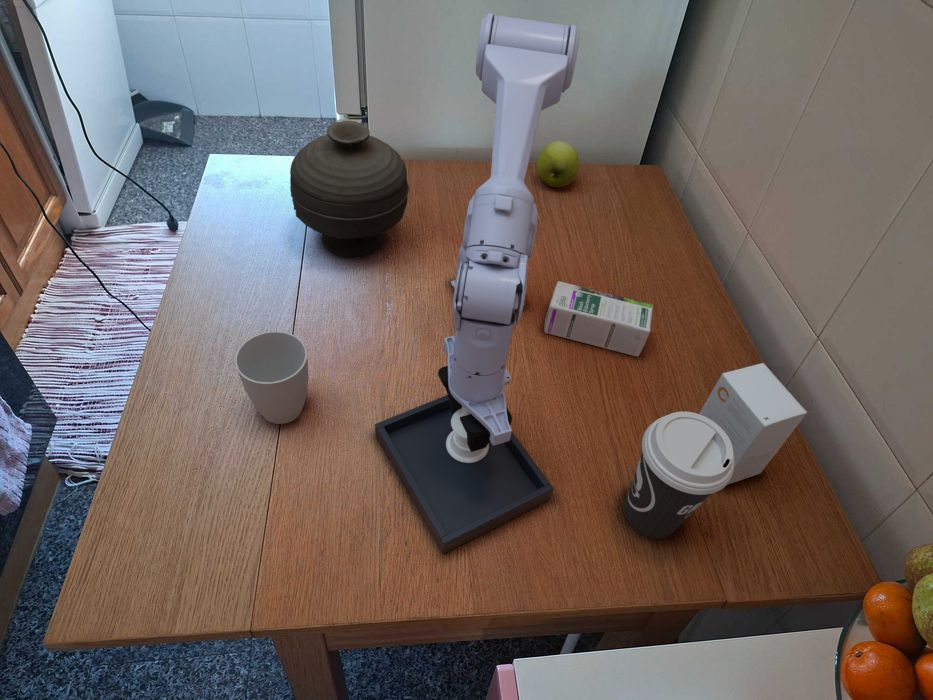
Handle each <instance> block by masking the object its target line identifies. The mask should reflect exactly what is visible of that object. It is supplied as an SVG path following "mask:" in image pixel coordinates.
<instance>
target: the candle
mask: <svg viewBox="0 0 933 700" xmlns="http://www.w3.org/2000/svg"><path fill="white" fill-rule="evenodd" d="M469 414H471V413H470V412H469V411H467V410H466V409H465V408H464V407H463V406H462V408H461V409H459V410H457V411H456V412H455V413H454V414H453V416H452V418H451V426H452V428H453V431H452V432H451V433H450V434H449V435H448V437H447V440H446V448H447V451H448V452H449V454H450V455H451V456H452V457H453V458H454V459H456V460H458V461H460V462H463V463H474V462H477V461H479V460H481V459H482V458H484V457H485V455H486V454H487V452H488V449H489V443H488V445H487V446H486V448H483V449H480V450H476V451H473V452H471V451H470V449H469V447H468V444H467V433H466V431H465V429H464V427H463V425H462V423H461V421H460V417H462V416H465V415H469Z"/></svg>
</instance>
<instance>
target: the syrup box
mask: <svg viewBox="0 0 933 700" xmlns="http://www.w3.org/2000/svg"><path fill="white" fill-rule="evenodd" d="M653 310H654V305H653V304H652V303H649V302H648V303H647V302H644V301H639V300H636V299H631V298H627V297H623V296H621V295H615V294H612V293H608V292H604V291H600V290H595V289H592V288H588V287H585V286H580V285H576V284H572V283H567V282H564V281H560V280H558V281H557V282H556V284H555V285H554V289H553V291H552V294H551V299H550V302H549V304H548V308H547V312H546V315H545V319H544V325H543V332H544V333H545V334H549V335H551V336H555V337H559V338H564V339H568V340H571V341H575V342H579V343H582V344H587V345H590V346H594V347H599V348H602V349H606V350H610V351H613V352H618V353H620V354H621V353H622V354H625V355H629V356H632V357H639V356H640V355H641V353H642V351H643V349H644V347H645V345H646V342H647V341H648V338H649V335H650V333H651V325H652V317H653Z"/></svg>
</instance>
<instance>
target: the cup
mask: <svg viewBox="0 0 933 700" xmlns="http://www.w3.org/2000/svg"><path fill="white" fill-rule="evenodd" d="M234 364H235V368H236V371H237V373H238V377H239V378H240V382H241V384H242V386H243V389H244V392H245V394H247V396H248V398H249V400H250V401H251V403H252V405H253V406H254V408H255V409H256V411H258V413H259V414H260V415H261V416H263V418H264V419H265V420H266V421H268V422H269V423H272V424H275V425H284V424H288V423H291V422H293V421H295V420H296V419H297V418H298V417H299V416H300V415H301V413H302V411H303V409H304V406H305V403H306V400H307V395H308V387H309V386H308V384H309V363H308V351H307V347H306V345H305V343H304V342H303V341H302V340H301V338H299V337H298V336H296V335H294V334H292V333H290V332H285V331H280V330H279V331H278V330H272V331H265V332H261V333H258V334H255V335H253V336H252V337H249V338H248V339H246V340H245V341H244V342H243V343H242V344H241V345H240V347H239V348H238V349H237V351H236V354H235V356H234Z"/></svg>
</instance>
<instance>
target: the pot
mask: <svg viewBox="0 0 933 700" xmlns="http://www.w3.org/2000/svg"><path fill="white" fill-rule="evenodd" d="M370 134H371V131H370V129H369V128H368V127H367V128H366V127H365V126H364V125H363V124H362V123H360V122H359V121H356V120H355V121H354V120H342V121H336V122H333V123H330V124H329V125H328V127H327V129H326V134H325V135H321V136H319V137H317V138H314V140H311V141H310V142H308V143H307V144H305V145H304V147H302V148H301V149H299V151H298V152H297V154H295V155H294V157H293V159H292V162H291V164H290V169H289V170H290V171H289V175H290V176H289V177H290V178H289V183H290V186H289V188H290V189H289V190H290V196H291V199H292V200H291V201H292V206H293V210H294V211H295V217H296V218H297V219H298V220H299V221H300V222H302V223H303V224H304V225H305V226H306V227H308V228H310V229H312V230H313V231H314V232H316V233H318V234H320V235H321V238H320V240H321V245H322V247H323V248H324V249H325V250H326V251H327V252H329V253H330V254H332V255H334V256H337V257H338V258H343V259H354V260H355V259H361V258H365V257H368V256H370V255H372V254H375V253H376V252H377V251H378V250H380V249H381V248H382V246H383V244H384V241H385V236H384V233H386V232H388V231H389V230H391V229H392V228H393V227H395V226H397V224H398V223H399V222H400V221H401V220H402V219H403V217H404V215H405V211H406V209H407V206H408V201H409V199H408V198H409V197H408V195H409V191H410V185H409V182H408V170H407V167H406V163H405V162H404V160H403V159H402V156H401V155H400V154H399V153H398V151H396V150H395V149H394V148H393V147H392V146H391V145H390V144H388V143H387V142H385V141H383V140H381V139H379V138H377V137H376V136H373V135H370Z"/></svg>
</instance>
